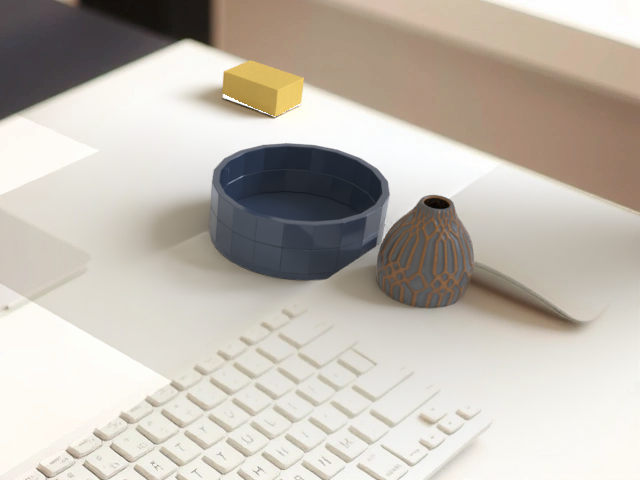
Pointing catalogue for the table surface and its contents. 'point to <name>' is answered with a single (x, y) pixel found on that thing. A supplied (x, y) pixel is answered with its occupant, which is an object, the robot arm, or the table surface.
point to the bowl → (296, 209)
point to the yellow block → (263, 87)
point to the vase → (426, 256)
